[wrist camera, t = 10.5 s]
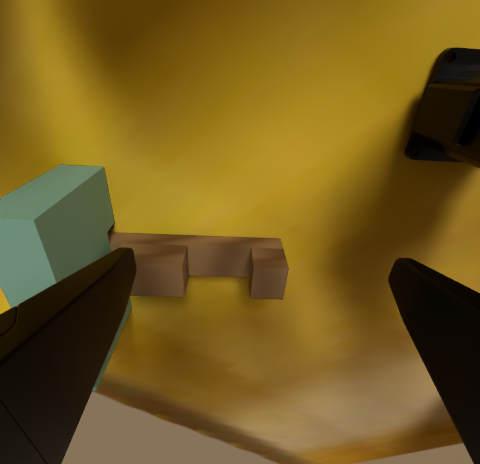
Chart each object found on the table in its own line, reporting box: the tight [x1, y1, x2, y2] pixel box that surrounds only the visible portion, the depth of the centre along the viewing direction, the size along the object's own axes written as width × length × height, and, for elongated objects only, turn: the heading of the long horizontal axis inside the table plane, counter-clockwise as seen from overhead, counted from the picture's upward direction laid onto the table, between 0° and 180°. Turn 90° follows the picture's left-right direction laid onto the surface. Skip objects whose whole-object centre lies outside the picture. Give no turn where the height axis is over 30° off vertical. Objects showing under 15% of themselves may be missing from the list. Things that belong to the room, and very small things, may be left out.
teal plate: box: [0, 165, 131, 391], centre depth 20 cm, size 14×3×8 cm, turn 177°
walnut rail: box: [107, 232, 289, 300], centre depth 21 cm, size 20×3×4 cm, turn 87°
